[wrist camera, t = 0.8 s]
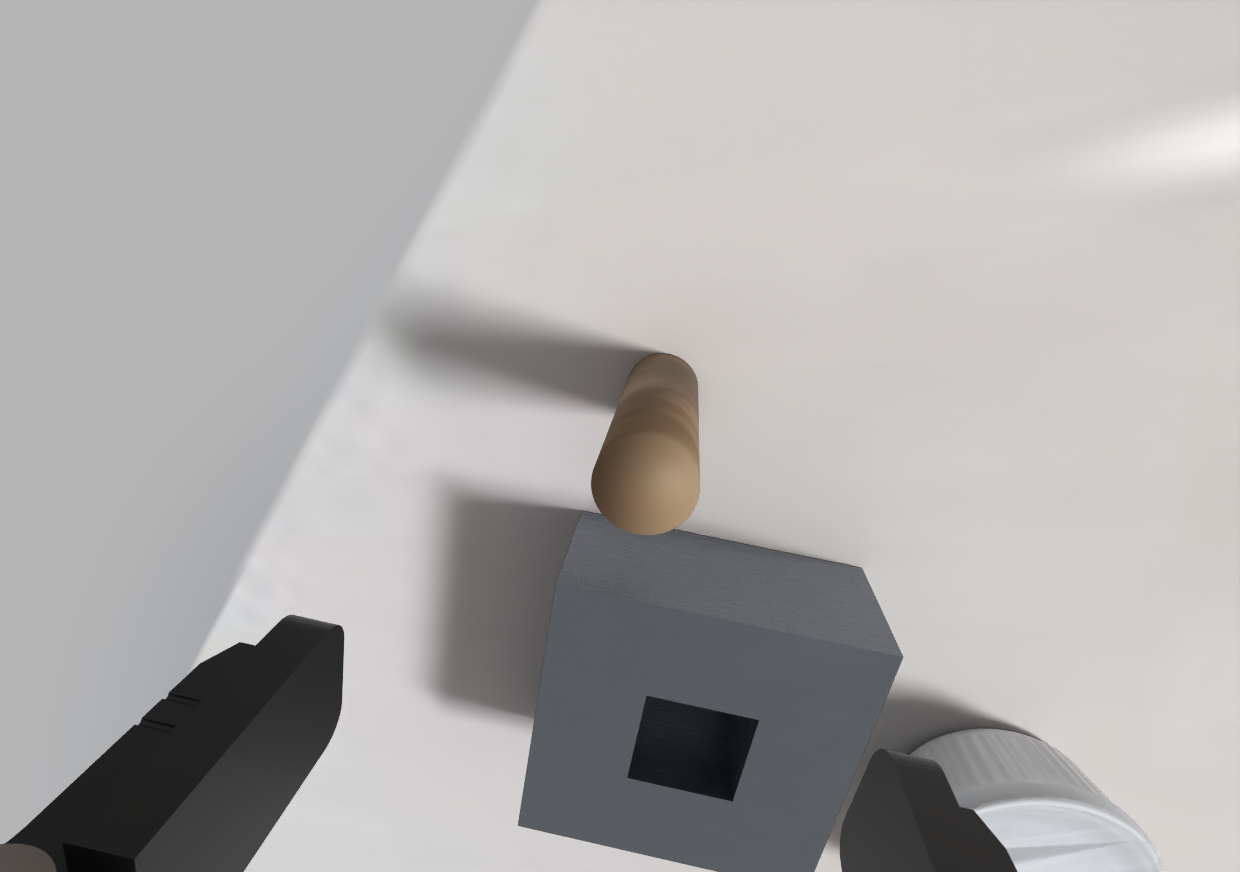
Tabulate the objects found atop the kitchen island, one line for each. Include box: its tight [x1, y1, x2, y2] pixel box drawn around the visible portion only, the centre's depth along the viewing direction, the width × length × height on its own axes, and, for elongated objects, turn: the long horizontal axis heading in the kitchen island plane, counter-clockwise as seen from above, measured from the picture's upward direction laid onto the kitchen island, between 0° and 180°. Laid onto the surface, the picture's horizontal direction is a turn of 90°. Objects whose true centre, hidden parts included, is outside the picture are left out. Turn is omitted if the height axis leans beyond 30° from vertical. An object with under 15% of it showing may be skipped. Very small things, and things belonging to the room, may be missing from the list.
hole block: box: [518, 511, 903, 872], centre depth 28 cm, size 13×13×6 cm
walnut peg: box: [591, 354, 700, 535], centre depth 22 cm, size 3×3×10 cm
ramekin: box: [909, 728, 1165, 872], centre depth 30 cm, size 11×11×5 cm
